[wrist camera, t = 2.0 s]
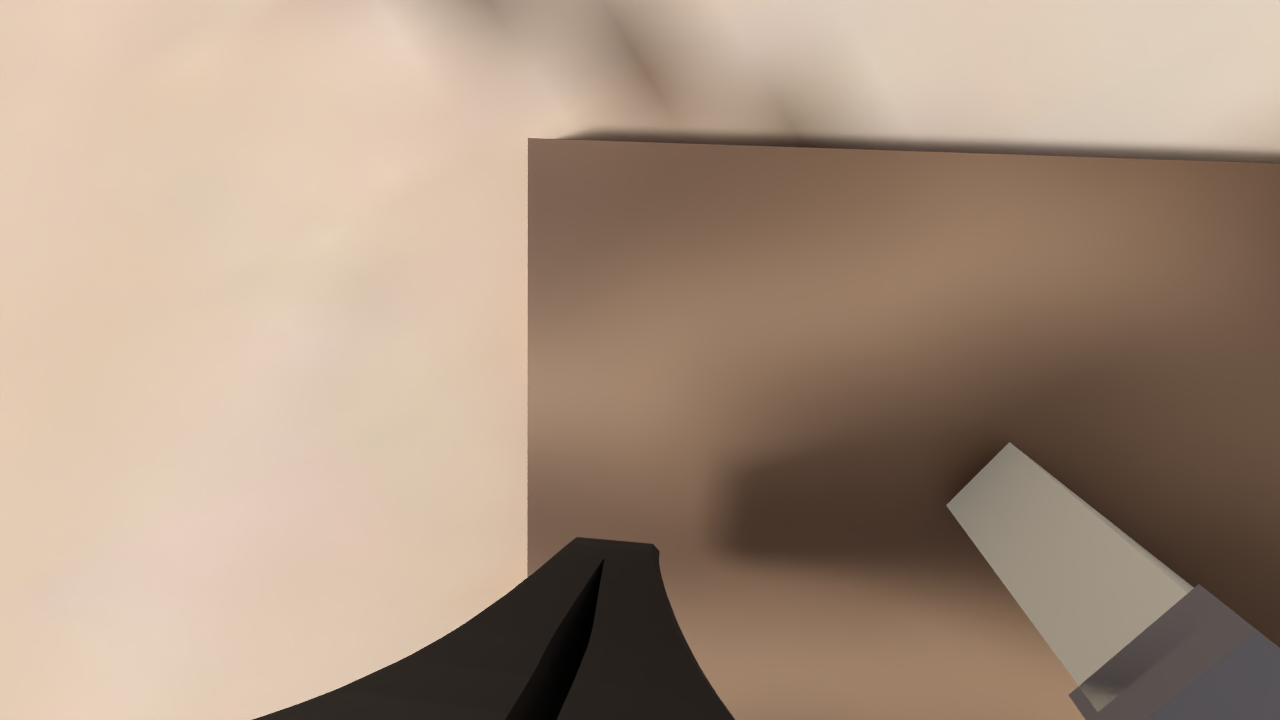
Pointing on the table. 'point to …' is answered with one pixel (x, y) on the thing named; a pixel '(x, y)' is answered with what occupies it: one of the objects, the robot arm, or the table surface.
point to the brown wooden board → (896, 397)
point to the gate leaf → (1114, 605)
